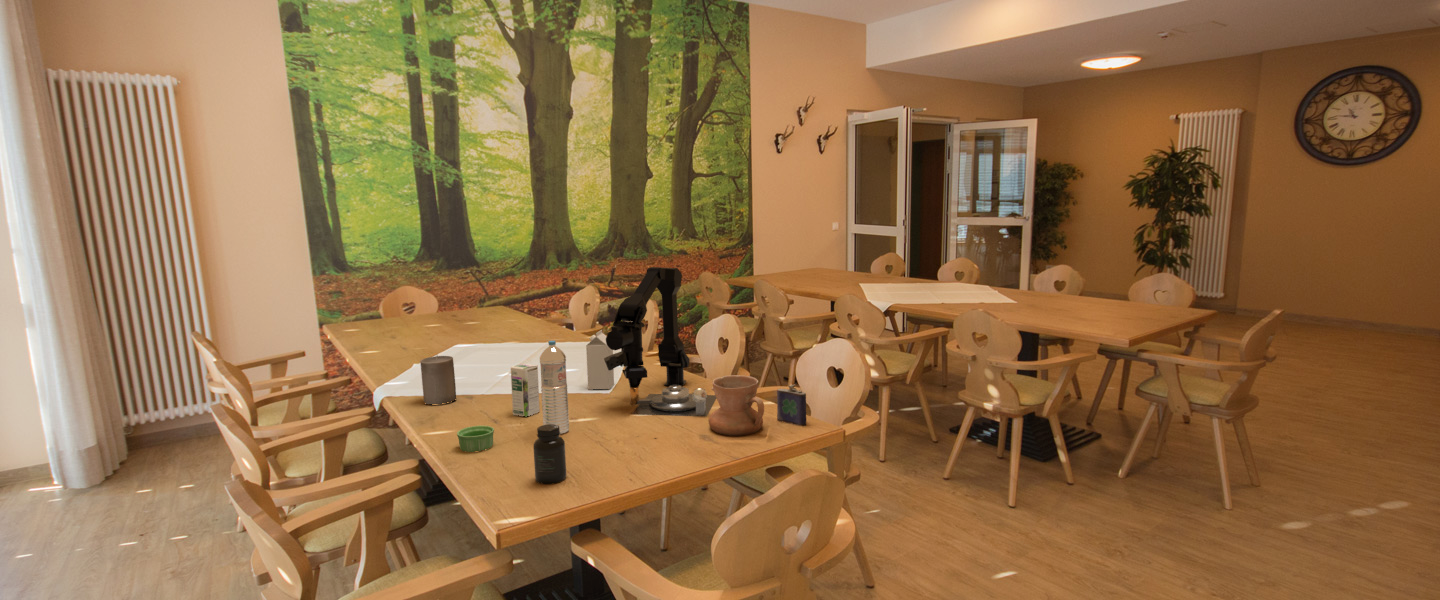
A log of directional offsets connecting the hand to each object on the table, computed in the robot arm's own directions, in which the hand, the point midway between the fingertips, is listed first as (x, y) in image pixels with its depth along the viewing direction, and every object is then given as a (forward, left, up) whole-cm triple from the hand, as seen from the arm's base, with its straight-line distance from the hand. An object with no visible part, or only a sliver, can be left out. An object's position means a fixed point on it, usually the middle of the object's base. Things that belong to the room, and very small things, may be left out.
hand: (633, 394), depth 217 cm
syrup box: (+11, -30, -4) cm, 32 cm away
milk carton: (-20, -17, -4) cm, 26 cm away
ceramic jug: (+22, +34, -4) cm, 41 cm away
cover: (+1, +13, -1) cm, 13 cm away
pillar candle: (+1, -63, -4) cm, 63 cm away
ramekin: (+40, -31, -4) cm, 50 cm away
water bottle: (+26, -15, -4) cm, 30 cm away
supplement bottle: (+58, -4, -4) cm, 58 cm away
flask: (+12, +48, -4) cm, 50 cm away
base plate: (+1, +13, -4) cm, 14 cm away
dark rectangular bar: (+10, +22, -3) cm, 25 cm away
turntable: (+1, +11, -2) cm, 11 cm away
